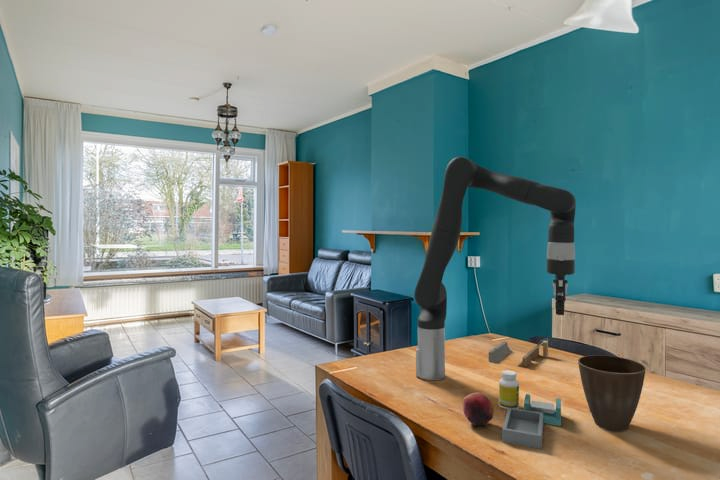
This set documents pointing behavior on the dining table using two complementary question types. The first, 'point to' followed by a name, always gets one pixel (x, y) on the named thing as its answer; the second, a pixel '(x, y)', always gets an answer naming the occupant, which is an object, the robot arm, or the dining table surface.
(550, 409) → the plate
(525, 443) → the trough
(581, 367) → the plant pot
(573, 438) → the dining table surface
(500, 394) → the supplement bottle
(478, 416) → the fruit
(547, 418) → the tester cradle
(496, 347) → the skate ramp
